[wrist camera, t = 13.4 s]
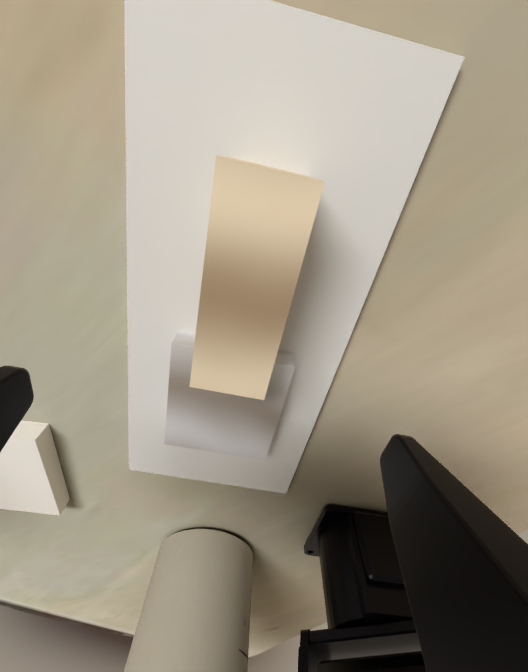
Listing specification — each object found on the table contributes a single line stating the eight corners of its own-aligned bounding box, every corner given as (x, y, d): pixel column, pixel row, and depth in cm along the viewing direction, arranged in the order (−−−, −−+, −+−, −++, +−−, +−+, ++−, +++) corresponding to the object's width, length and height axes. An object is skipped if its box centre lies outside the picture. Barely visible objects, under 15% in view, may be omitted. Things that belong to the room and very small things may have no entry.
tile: (52, 419, 20) (73, 493, 24) (-60, 405, 19) (-20, 482, 23) (34, 440, 18) (60, 515, 22) (-88, 425, 18) (-40, 504, 22)
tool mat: (285, 488, 22) (286, 493, 22) (131, 464, 21) (128, 469, 21) (458, 60, 10) (464, 56, 10) (129, -35, 9) (124, -43, 9)
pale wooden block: (265, 444, 19) (264, 506, 16) (170, 428, 19) (146, 489, 15) (346, 185, 12) (377, 194, 8) (193, 148, 11) (159, 141, 8)
